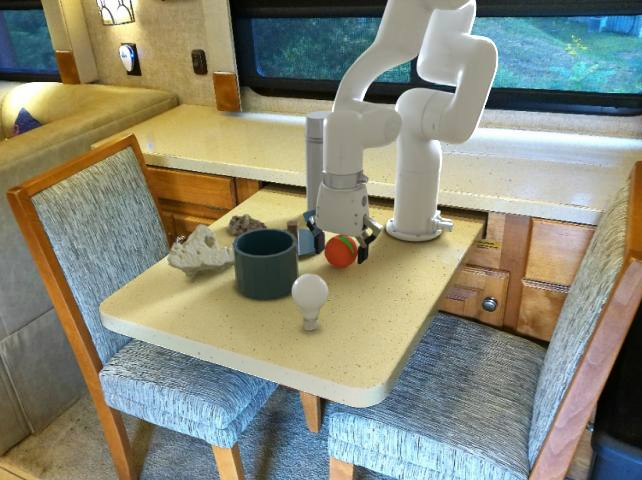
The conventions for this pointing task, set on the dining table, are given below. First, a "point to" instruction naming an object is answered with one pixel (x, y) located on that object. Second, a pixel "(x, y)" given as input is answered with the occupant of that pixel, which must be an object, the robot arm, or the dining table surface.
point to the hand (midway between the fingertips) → (340, 256)
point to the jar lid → (302, 239)
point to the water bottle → (314, 156)
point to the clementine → (341, 251)
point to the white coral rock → (199, 253)
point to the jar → (265, 263)
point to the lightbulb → (310, 298)
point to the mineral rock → (244, 224)
